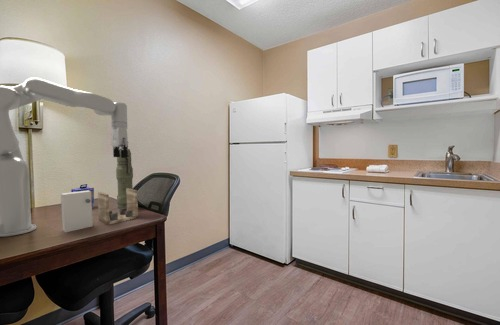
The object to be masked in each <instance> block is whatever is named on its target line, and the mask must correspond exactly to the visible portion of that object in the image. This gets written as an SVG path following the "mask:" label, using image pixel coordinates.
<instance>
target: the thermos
mask: <svg viewBox="0 0 500 325" xmlns="http://www.w3.org/2000/svg"><path fill="white" fill-rule="evenodd" d="M119 150H120V157H116V163H117V164H116V169H115V171H116V172H115V173H116V180H117V196H116V203H117V209H119V210H120V209H121V208H127V196H126V189H127V188H129V189H133V190H134V188H133V187H134V186H133V178H134V168H133V166H132V152H131V150H130V148H128V157H127V158H121V150H122V149H121V148H119Z"/></svg>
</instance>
